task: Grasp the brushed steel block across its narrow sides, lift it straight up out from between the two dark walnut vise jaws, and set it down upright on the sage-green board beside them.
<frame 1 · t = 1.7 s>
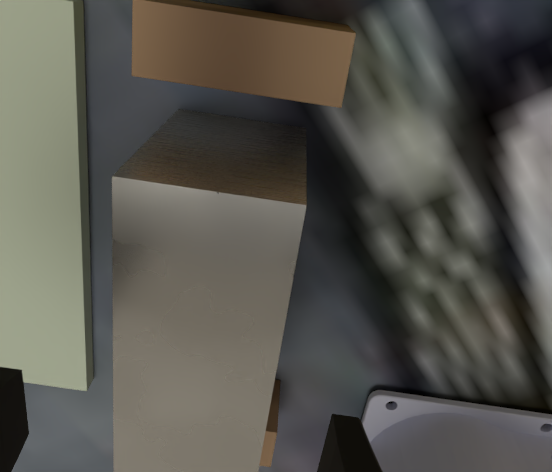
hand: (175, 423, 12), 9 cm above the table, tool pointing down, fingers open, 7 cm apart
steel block: (229, 242, 20), on the table
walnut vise: (228, 244, 20), on the table
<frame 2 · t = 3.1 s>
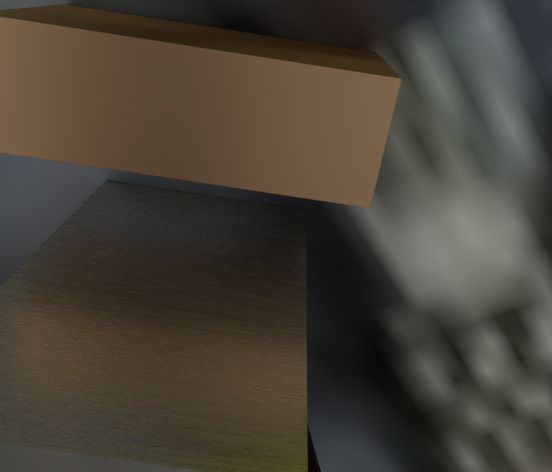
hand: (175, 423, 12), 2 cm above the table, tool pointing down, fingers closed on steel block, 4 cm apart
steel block: (191, 367, 14), on the table, touching gripper
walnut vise: (192, 368, 14), on the table
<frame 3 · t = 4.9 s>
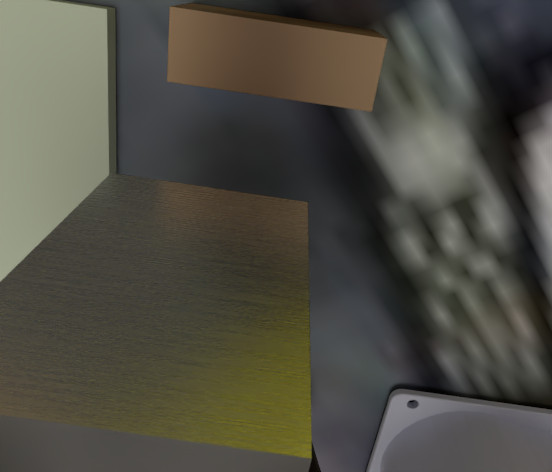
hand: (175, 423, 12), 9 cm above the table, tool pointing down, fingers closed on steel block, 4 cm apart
sage board: (4, 209, 20), on the table
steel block: (194, 358, 14), point 7 cm above the table, touching gripper
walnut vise: (253, 245, 20), on the table
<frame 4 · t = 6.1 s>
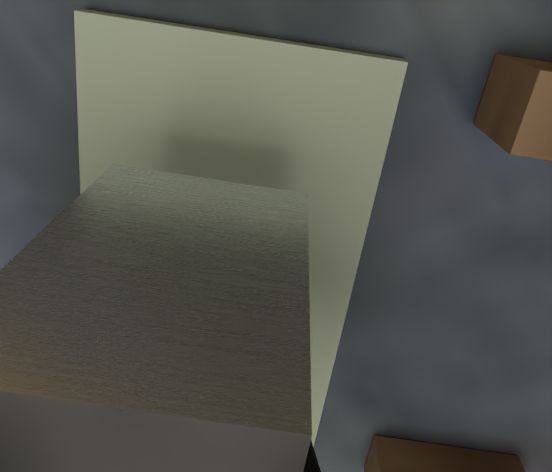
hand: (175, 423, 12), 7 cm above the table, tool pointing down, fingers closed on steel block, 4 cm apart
sage board: (219, 275, 18), on the table
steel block: (195, 350, 14), point 4 cm above the table, touching gripper
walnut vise: (499, 317, 18), on the table
when the fingers open (4 cm above the table, at t = 7.1 s): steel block drops 1 cm, resting on sage board.
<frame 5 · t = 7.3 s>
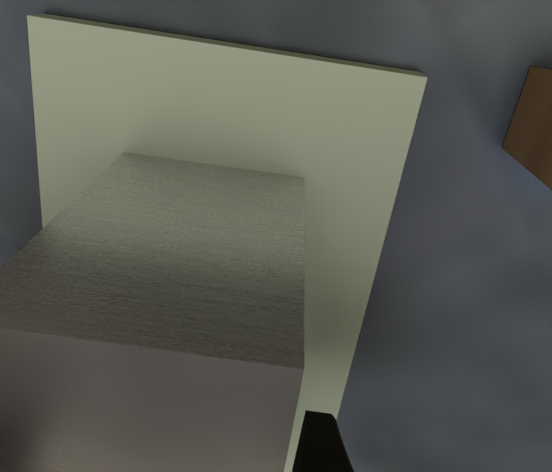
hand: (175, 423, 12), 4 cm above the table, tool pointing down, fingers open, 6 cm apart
sage board: (206, 317, 16), on the table
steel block: (201, 327, 15), point 1 cm above the table, touching sage board
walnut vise: (526, 363, 16), on the table
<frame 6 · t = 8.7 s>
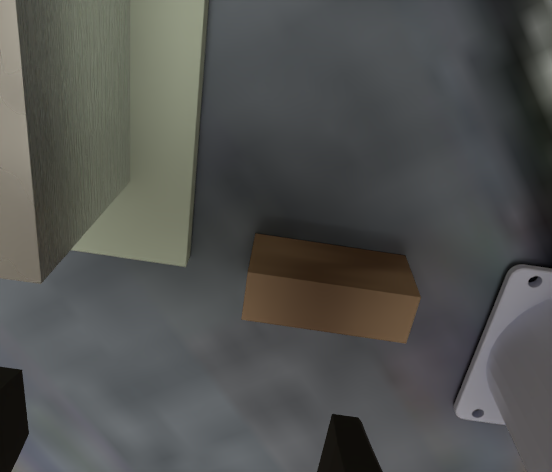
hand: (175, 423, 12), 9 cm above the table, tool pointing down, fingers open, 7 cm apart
sage board: (71, 30, 17), on the table
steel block: (59, 25, 16), point 1 cm above the table, touching sage board
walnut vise: (366, 75, 17), on the table
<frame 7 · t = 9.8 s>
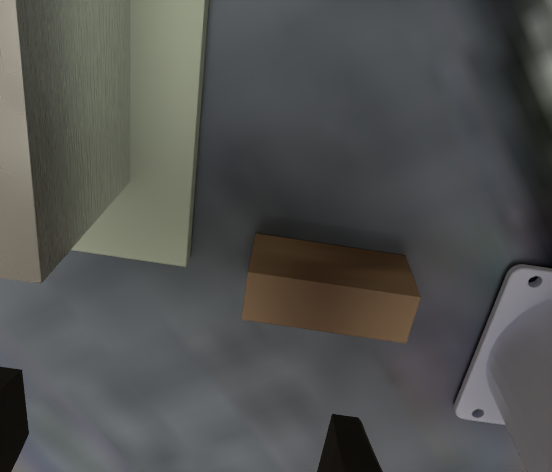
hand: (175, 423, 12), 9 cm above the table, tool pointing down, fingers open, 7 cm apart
sage board: (71, 30, 17), on the table
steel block: (60, 25, 16), point 1 cm above the table, touching sage board
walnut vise: (366, 75, 17), on the table
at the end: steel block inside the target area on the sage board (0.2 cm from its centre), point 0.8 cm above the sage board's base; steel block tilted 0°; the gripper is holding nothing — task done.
